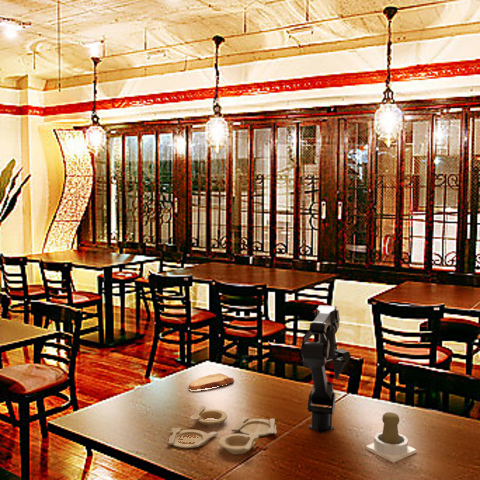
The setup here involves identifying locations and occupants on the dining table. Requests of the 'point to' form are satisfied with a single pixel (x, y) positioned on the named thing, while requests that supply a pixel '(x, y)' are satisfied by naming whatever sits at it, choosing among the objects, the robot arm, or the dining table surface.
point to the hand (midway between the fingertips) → (326, 381)
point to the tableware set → (229, 442)
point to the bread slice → (210, 381)
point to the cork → (390, 428)
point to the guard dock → (394, 458)
